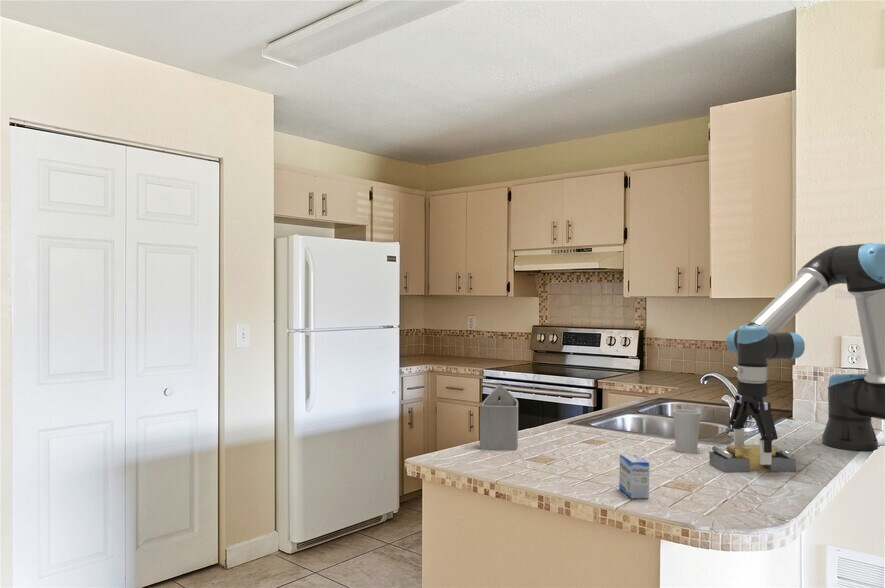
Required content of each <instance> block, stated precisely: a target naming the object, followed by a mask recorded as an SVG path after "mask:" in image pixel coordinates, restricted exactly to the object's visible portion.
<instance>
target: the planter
mask: <svg viewBox="0 0 885 588" xmlns="http://www.w3.org/2000/svg"><path fill="white" fill-rule="evenodd" d="M499 398H500V399H499ZM518 447H519V401H518V399H517V398H516V397H515V396H514V395H513V394H512V393H511V392H509V391H508V389H506V388H505V387H504V386H502V385H501V384H498V385H497V386H496V387H495V388H494V389H493V390H492V391H491V392H490V393H489V395H487V397H486V398H485V399H484V400H483V401H482V402H481V404H480V406H479V450H482V451H484V450H485V451H486V450H487V451H517V450H518Z"/></svg>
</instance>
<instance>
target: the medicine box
mask: <svg viewBox="0 0 885 588" xmlns="http://www.w3.org/2000/svg"><path fill="white" fill-rule="evenodd" d="M618 475H619V476H618V477H619V478H618V479H619V481H618V484H619V485H618V486H619V487H618V488H619V490H620V491H621V490H622V491H623V492H622V491H621V492H622V493H624V494H625V495H626V496H627V495H628V496H627V497H629V499H631V498H648V499H650V463H649V462H648V461H646V460H645V459H644V458H642V457H641V456H639V455H638V454H634V453H624V454H623V453H621V454H620V455H619V474H618Z"/></svg>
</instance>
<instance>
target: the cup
mask: <svg viewBox="0 0 885 588" xmlns="http://www.w3.org/2000/svg"><path fill="white" fill-rule="evenodd" d="M672 416H673V426H674V427H673V429H674V441H675V442H674V443H675V451H676V452H678V453H679V452H680V453H685V454H697V453H698V451H699V450H698V447H699V435H700V423H701V422H700V421H701V412H700V411H699V410H695V409H694V410H692V409H684V408H683V409H674V410H672Z"/></svg>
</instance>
